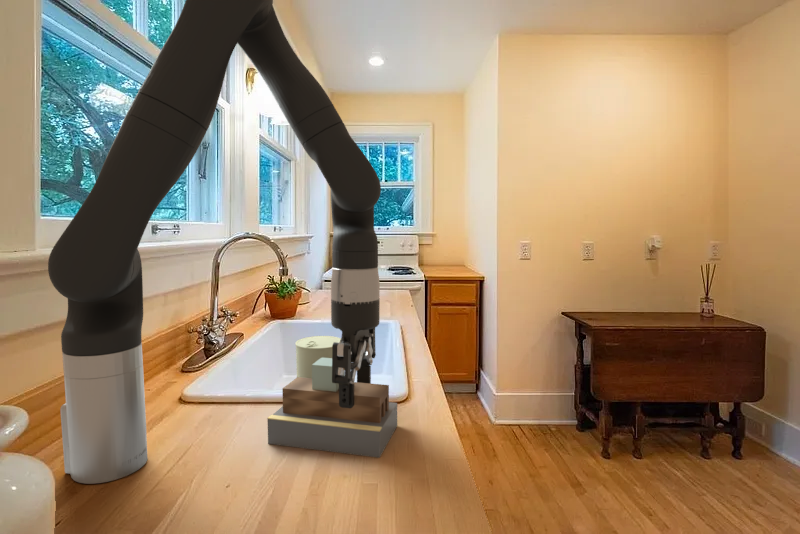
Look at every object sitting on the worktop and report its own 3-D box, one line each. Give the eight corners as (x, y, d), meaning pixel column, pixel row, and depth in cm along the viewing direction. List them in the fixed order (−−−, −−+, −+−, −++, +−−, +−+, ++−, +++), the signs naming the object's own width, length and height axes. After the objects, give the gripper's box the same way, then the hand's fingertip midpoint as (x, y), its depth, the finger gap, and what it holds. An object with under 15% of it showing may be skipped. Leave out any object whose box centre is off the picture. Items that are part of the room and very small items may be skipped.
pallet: (282, 412, 75) (282, 388, 75) (297, 399, 81) (297, 377, 80) (379, 423, 72) (379, 397, 71) (388, 408, 77) (388, 385, 77)
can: (285, 403, 89) (284, 341, 88) (316, 388, 97) (315, 331, 96) (325, 413, 85) (324, 348, 84) (353, 396, 93) (353, 336, 92)
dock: (268, 443, 74) (267, 417, 73) (298, 415, 84) (298, 392, 84) (379, 457, 69) (379, 430, 69) (397, 425, 80) (397, 402, 80)
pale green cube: (312, 389, 75) (311, 364, 74) (321, 380, 79) (321, 357, 78) (336, 391, 74) (335, 366, 73) (344, 383, 78) (344, 359, 77)
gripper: (347, 288, 81) (348, 380, 83) (314, 303, 68) (315, 412, 69) (390, 290, 80) (389, 383, 81) (364, 305, 66) (364, 417, 68)
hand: (355, 396), depth 75 cm, fingers open, 8 cm apart
